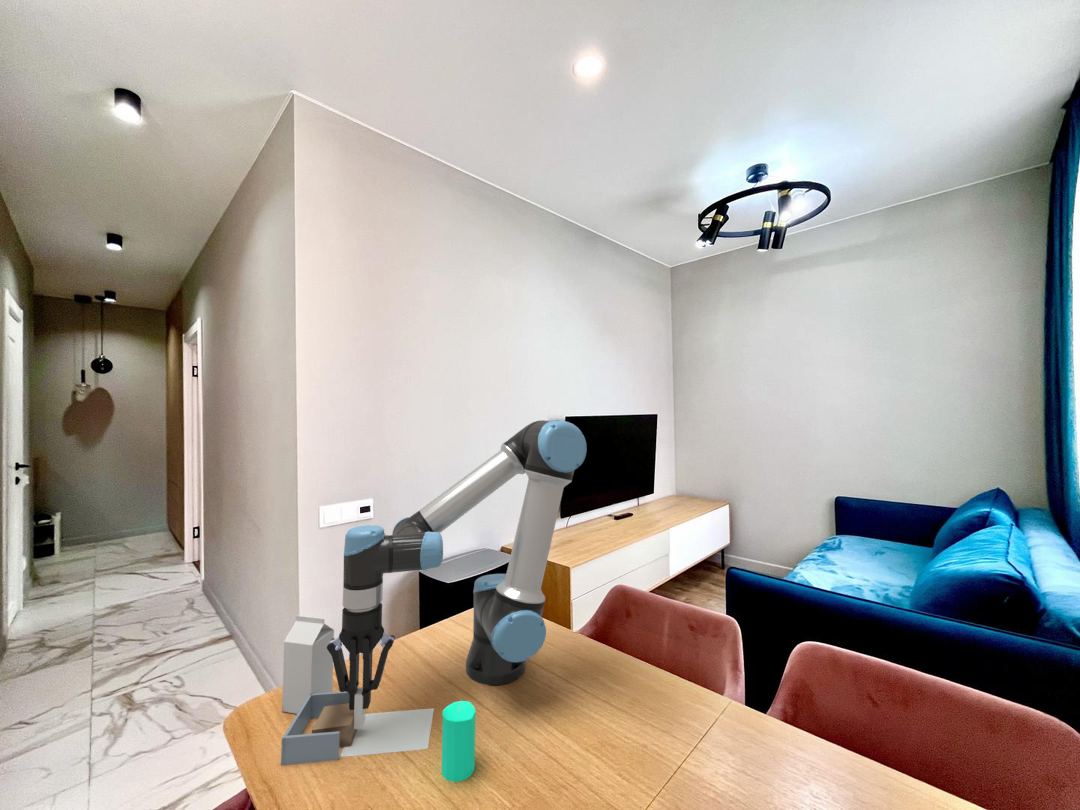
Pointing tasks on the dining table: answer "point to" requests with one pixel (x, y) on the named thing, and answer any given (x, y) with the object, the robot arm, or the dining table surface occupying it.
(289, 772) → the dining table surface
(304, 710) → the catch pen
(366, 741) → the runner mat
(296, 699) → the milk carton
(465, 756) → the candle
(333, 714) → the brown block
